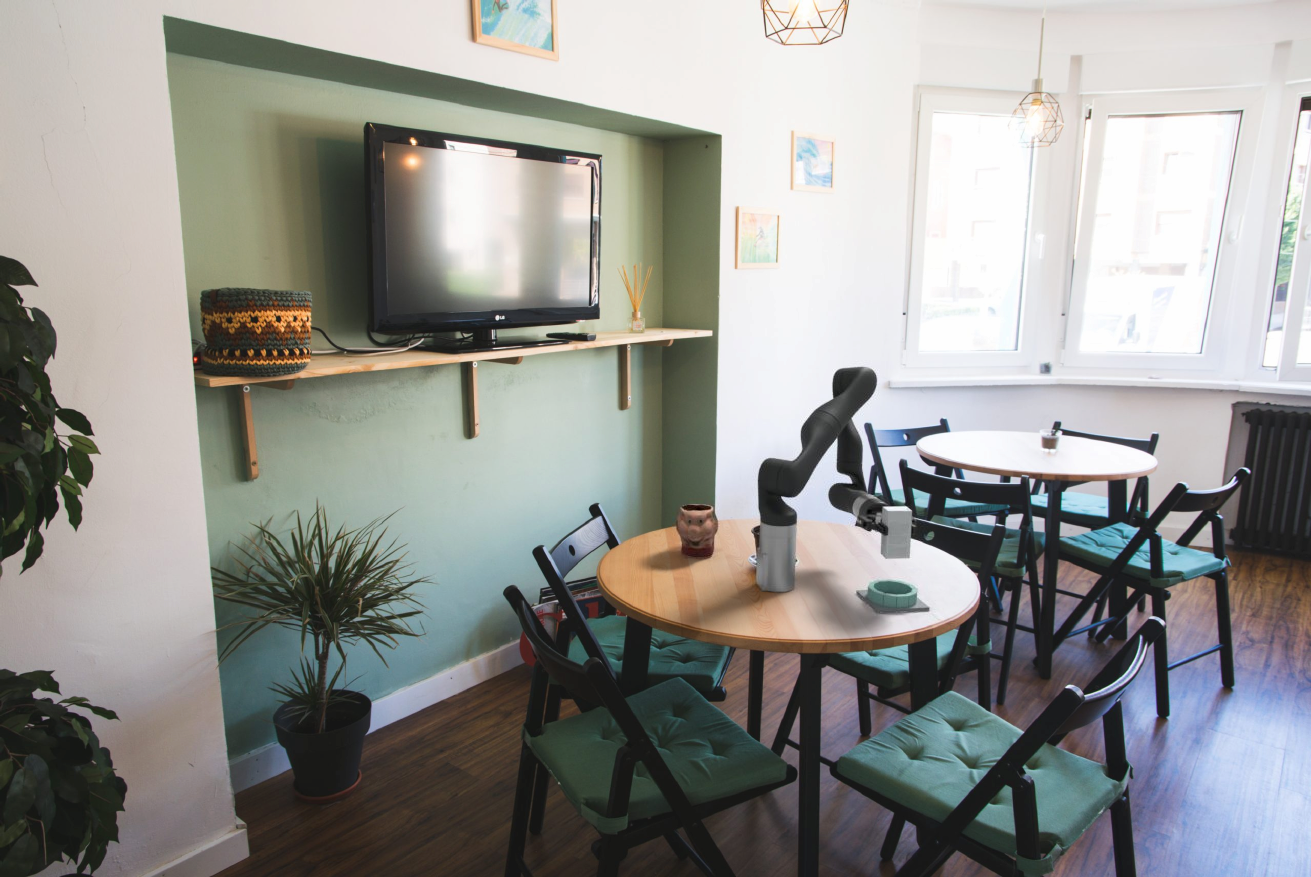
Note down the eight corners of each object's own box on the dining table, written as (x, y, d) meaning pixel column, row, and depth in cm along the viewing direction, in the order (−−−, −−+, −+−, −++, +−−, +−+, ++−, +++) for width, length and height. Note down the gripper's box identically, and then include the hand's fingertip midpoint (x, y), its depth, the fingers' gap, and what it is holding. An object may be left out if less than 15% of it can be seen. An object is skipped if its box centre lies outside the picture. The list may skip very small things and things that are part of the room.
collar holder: (877, 613, 189) (878, 598, 188) (856, 593, 202) (856, 579, 201) (929, 610, 191) (930, 596, 190) (905, 590, 203) (905, 577, 203)
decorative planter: (675, 541, 243) (676, 497, 241) (715, 542, 243) (716, 497, 241) (676, 563, 224) (676, 515, 221) (719, 563, 223) (720, 515, 221)
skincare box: (903, 553, 197) (906, 505, 194) (909, 558, 192) (913, 510, 190) (879, 553, 196) (882, 506, 194) (884, 559, 192) (887, 510, 190)
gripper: (846, 498, 205) (872, 517, 189) (899, 497, 207) (930, 514, 191) (844, 527, 207) (871, 547, 190) (897, 524, 209) (928, 545, 192)
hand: (900, 531), depth 191 cm, fingers closed on skincare box, 6 cm apart
